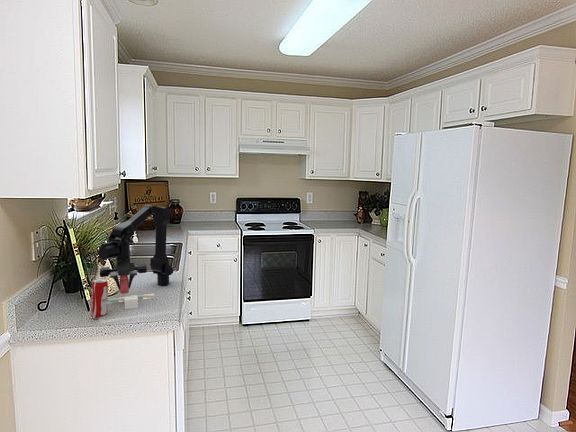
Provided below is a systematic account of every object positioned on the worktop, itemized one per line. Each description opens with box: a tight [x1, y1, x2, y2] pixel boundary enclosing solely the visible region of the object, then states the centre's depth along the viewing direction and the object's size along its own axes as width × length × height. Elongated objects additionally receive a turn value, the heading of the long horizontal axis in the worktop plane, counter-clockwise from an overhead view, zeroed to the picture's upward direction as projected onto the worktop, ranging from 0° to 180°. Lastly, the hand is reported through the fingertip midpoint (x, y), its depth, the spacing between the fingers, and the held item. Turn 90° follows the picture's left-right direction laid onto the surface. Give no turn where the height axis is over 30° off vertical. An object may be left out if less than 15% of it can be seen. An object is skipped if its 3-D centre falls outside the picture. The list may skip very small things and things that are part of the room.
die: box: [123, 294, 139, 310], centre depth 161 cm, size 5×5×5 cm
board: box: [107, 293, 156, 305], centre depth 170 cm, size 6×20×1 cm, turn 115°
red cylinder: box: [119, 275, 130, 295], centre depth 168 cm, size 4×4×8 cm
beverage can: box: [90, 278, 109, 320], centre depth 152 cm, size 6×6×15 cm
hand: (124, 289), depth 169 cm, fingers closed on red cylinder, 4 cm apart
